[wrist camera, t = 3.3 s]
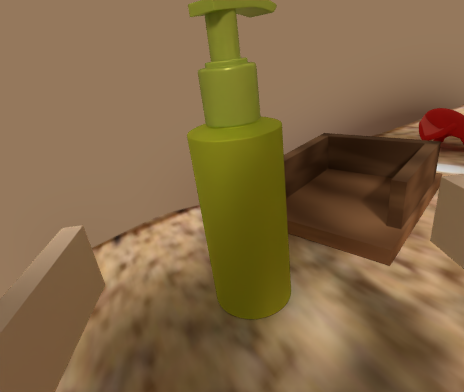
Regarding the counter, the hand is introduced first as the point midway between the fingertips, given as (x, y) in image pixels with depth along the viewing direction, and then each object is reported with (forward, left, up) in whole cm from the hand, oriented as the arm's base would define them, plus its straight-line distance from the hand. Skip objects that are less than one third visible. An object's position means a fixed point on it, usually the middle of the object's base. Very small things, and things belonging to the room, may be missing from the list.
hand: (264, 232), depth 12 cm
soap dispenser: (-7, -7, -11) cm, 15 cm away
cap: (-48, -2, -11) cm, 49 cm away
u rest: (-24, -6, -11) cm, 27 cm away
